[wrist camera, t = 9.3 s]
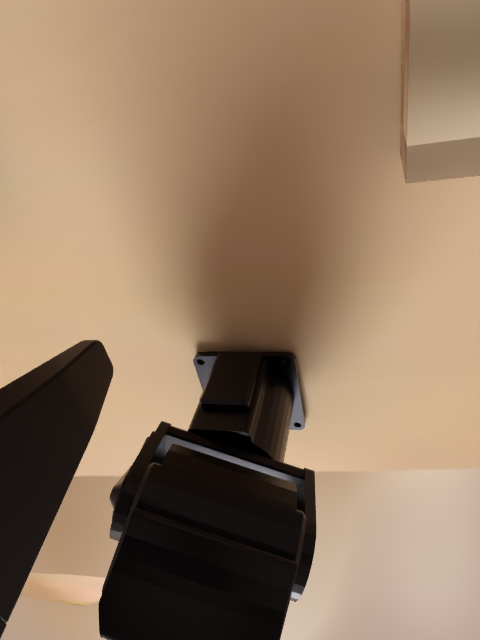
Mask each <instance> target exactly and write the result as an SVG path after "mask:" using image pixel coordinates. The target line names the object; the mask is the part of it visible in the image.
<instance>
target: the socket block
mask: <svg viewBox="0 0 480 640" xmlns="http://www.w3.org/2000/svg"><path fill="white" fill-rule="evenodd" d="M400 155H401V160H402V165H403V170H404V175H405V180H406V183H413V182H423V181H433V180H442V179H452V178H461V177H471V176H480V0H403V19H402V84H401V149H400Z"/></svg>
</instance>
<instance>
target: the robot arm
mask: <svg viewBox="0 0 480 640" xmlns="http://www.w3.org/2000/svg"><path fill="white" fill-rule="evenodd" d="M200 359H202V360H204V361H201V360H200ZM285 360H289V362H287V361H285ZM193 361H194V365H195V368H196V371H197V374H198V377H199V380H200V383H201V386H202V389H203V392H202V395H201V397H200V401H199V404H198V407H197V409H196V412H195V414H194V417H193V419H192V422H191V424H190V427H189V429H188V431H185V430H182V429H179V428H176V427H173V426H171V424H169V423H166V422H163V421H161V423H160V425H159V426H158V428H157V430H156V431H155V432H154V431H153V432H152V433H151V435H150V437H147V439H146V441H145V443H144V445H143V447H142V449H141V451H140V453H139V455H138V456H137V458H136V460H135V461H134V463H133V465H132V466H131V467H130V468H129V470H128V471H127V472H126V473H125V474H124V475H123V477H122V478H121V479H120V480H119V481H118V482H117V484H116V485H115V486H114V488H113V489H112V492H111V494H110V501H111V504H112V506H113V509H114V511H113V516H112V524H111V528H110V538H111V539H114V540H117V541H119V543H118V546H117V549H116V551H115V554H114V557H113V560H112V563H111V566H110V568H109V571H108V574H107V577H106V579H105V582H104V585H103V589H102V596H101V599H100V601H99V630H100V636H101V637H102V638H105V639H107V640H280V637H281V633H282V629H283V625H284V621H285V617H286V613H287V609H288V605H289V601H290V600H292V601H295V602H296V601H297V600H298V599H299V598H300V596H301V595H302V593H303V591H304V588H305V586H306V583H307V579H308V577H309V573H310V569H311V565H312V560H313V555H314V549H315V541H316V505H315V475H314V471H312V470H309V469H306V468H304V469H301V468H298V467H295V466H292V465H289V464H286V463H283V462H284V457H285V451H286V445H287V439H288V434H289V429H290V430H301V429H303V428H304V427H305V421H306V420H305V414H304V407H303V401H302V395H301V388H300V382H299V375H298V369H297V362H296V358H295V356H294V355H293V354H292V353H289V352H198V353H197V354H196V355H195V358H194V360H193ZM112 376H113V365H112V363H111V361H110V359H109V357H108V354H107V352H106V350H105V348H104V346H103V344H102V343H101V342H100V341H98V340H84V341H81V342H79V343H78V344H76V345H74V346H72V347H71V348H69V349H67V350H66V351H64V352H62V353H60V354H59V355H57V356H55V357H54V358H52V359H50V360H49V361H47V362H45V363H43V364H42V365H40V366H38V367H37V368H35V369H33V370H32V371H30V372H28V373H26V374H25V375H23V376H21V377H20V378H18V379H16V380H14V381H13V382H11V383H9V384H8V385H6V386H4V387H3V388H1V389H0V638H1V636H2V634H3V631H4V629H5V627H6V622H7V621H8V620H9V617H10V615H11V613H12V611H13V609H14V607H15V604H16V602H17V600H18V598H19V596H20V593H21V591H22V589H23V587H24V584H25V582H26V580H27V578H28V576H29V573H30V571H31V569H32V567H33V565H34V562H35V560H36V558H37V556H38V554H39V551H40V549H41V547H42V545H43V542H44V540H45V538H46V536H47V534H48V531H49V529H50V527H51V525H52V523H53V520H54V518H55V516H56V514H57V512H58V509H59V507H60V505H61V503H62V501H63V498H64V496H65V494H66V492H67V489H68V487H69V485H70V483H71V481H72V478H73V476H74V474H75V472H76V470H77V468H78V465H79V463H80V461H81V459H82V457H83V454H84V452H85V450H86V448H87V445H88V443H89V441H90V439H91V436H92V434H93V432H94V429H95V427H96V424H97V421H98V418H99V415H100V412H101V409H102V406H103V403H104V400H105V397H106V394H107V391H108V388H109V385H110V382H111V379H112ZM297 422H298V423H297Z"/></svg>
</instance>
